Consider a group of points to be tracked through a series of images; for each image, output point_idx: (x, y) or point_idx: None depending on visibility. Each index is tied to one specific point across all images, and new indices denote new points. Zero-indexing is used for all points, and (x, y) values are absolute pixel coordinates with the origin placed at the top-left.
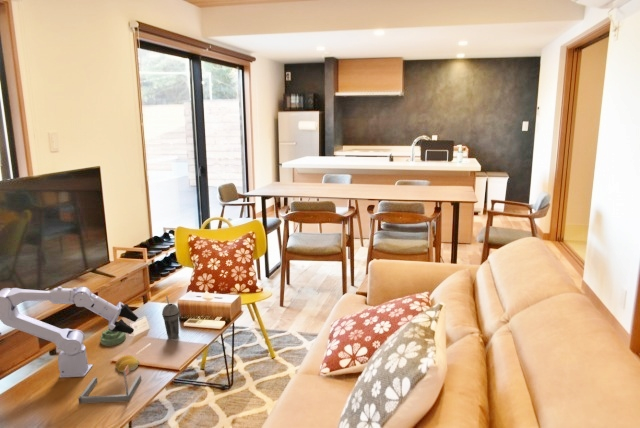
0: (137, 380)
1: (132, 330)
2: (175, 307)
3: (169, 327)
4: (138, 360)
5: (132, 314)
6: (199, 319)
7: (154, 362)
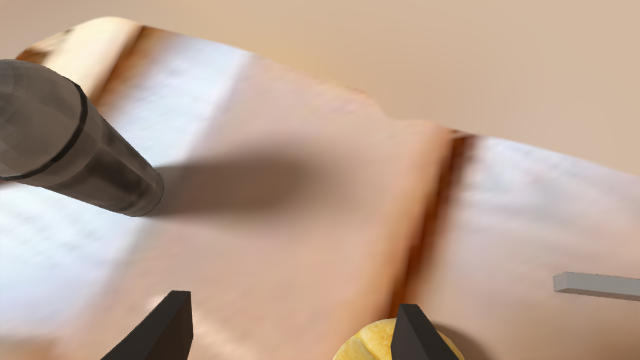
0: (628, 278)
1: (423, 317)
2: (18, 61)
3: (123, 170)
4: (372, 323)
5: (153, 352)
6: None
7: (375, 240)
